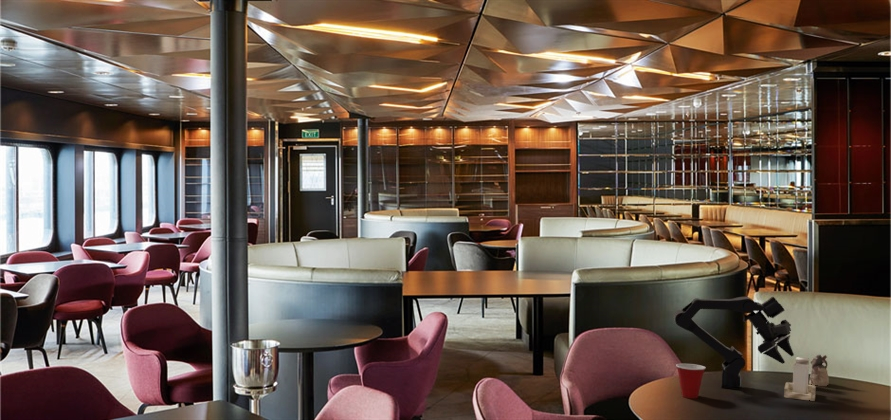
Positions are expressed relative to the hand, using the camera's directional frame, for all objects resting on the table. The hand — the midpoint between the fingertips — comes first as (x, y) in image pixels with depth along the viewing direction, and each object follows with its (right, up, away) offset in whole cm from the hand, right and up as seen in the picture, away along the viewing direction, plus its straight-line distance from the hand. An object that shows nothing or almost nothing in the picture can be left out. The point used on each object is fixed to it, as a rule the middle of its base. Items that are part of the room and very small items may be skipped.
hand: (788, 359), depth 294 cm
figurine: (+19, -13, +14) cm, 27 cm away
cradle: (+6, -13, +3) cm, 15 cm away
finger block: (+3, -13, -3) cm, 13 cm away
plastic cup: (-39, -13, -4) cm, 42 cm away
